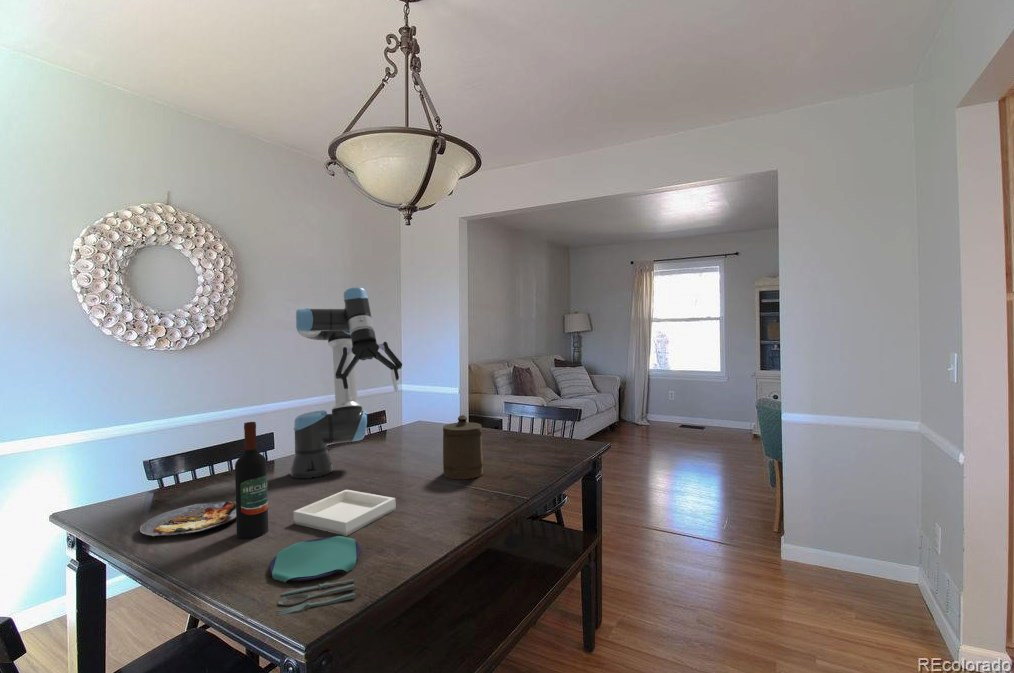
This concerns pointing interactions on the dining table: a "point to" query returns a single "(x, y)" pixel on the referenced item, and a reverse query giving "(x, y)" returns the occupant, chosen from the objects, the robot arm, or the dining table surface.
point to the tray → (344, 512)
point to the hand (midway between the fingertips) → (374, 394)
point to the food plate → (191, 519)
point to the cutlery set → (315, 567)
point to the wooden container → (462, 449)
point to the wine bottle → (251, 488)
